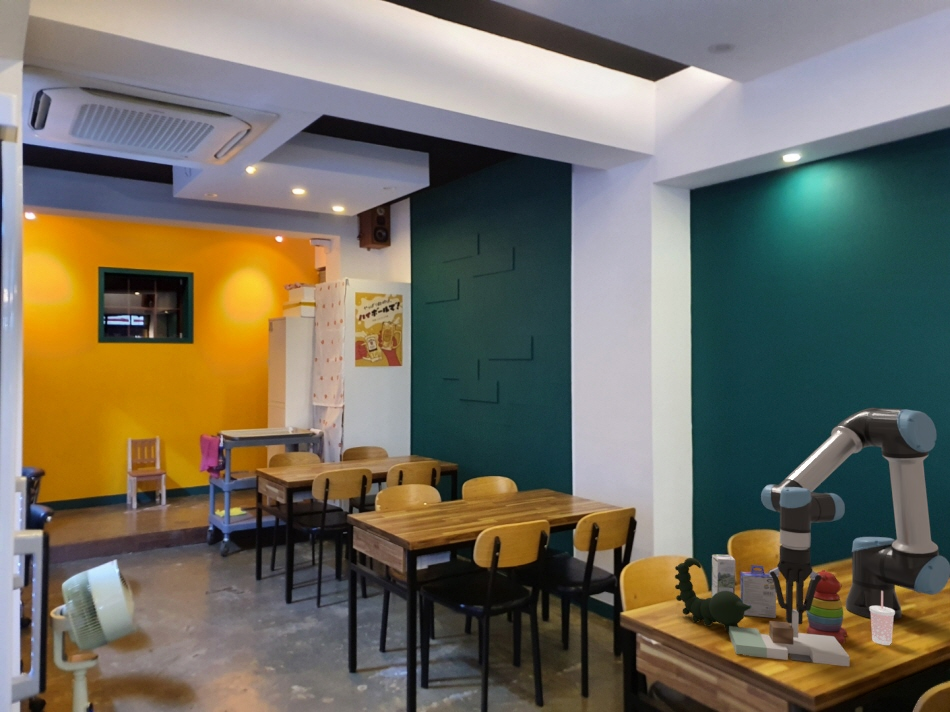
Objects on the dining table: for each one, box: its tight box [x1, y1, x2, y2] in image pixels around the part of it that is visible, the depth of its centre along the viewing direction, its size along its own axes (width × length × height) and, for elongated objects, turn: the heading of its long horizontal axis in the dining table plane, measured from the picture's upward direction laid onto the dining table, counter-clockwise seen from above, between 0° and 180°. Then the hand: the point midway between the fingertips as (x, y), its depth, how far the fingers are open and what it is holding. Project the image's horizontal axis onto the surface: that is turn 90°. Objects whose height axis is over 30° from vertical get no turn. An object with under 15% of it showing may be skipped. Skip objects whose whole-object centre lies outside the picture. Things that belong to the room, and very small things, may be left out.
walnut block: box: [768, 620, 793, 644], centre depth 184 cm, size 5×5×4 cm
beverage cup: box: [869, 591, 895, 646], centre depth 192 cm, size 6×6×14 cm
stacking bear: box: [806, 569, 848, 645], centre depth 196 cm, size 11×10×18 cm
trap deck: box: [728, 626, 850, 667], centre depth 184 cm, size 27×14×2 cm, turn 77°
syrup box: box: [710, 554, 736, 598], centre depth 224 cm, size 6×6×14 cm
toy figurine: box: [674, 557, 750, 634], centre depth 202 cm, size 9×19×25 cm
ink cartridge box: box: [739, 564, 777, 619], centre depth 212 cm, size 10×6×14 cm, turn 78°
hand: (794, 635), depth 184 cm, fingers closed
